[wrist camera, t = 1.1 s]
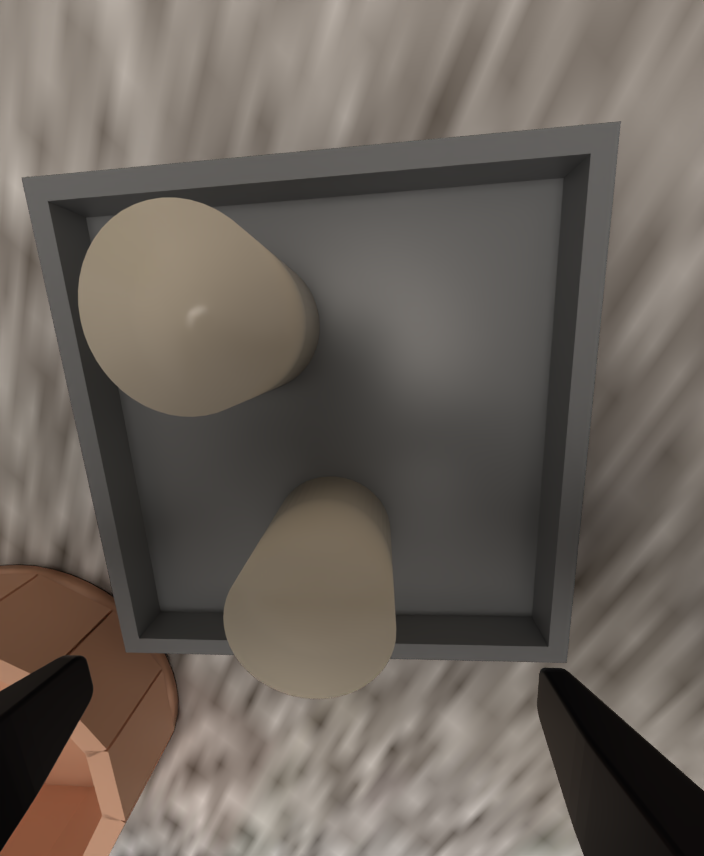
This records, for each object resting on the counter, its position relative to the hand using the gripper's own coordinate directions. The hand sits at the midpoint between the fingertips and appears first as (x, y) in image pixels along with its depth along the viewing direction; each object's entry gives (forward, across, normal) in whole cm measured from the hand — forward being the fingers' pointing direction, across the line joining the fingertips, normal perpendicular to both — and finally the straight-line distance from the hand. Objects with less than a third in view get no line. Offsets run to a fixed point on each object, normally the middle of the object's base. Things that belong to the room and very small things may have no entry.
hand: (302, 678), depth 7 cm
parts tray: (+6, 0, -4) cm, 7 cm away
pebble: (+6, +2, -7) cm, 9 cm away
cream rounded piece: (+6, 0, 0) cm, 6 cm away
